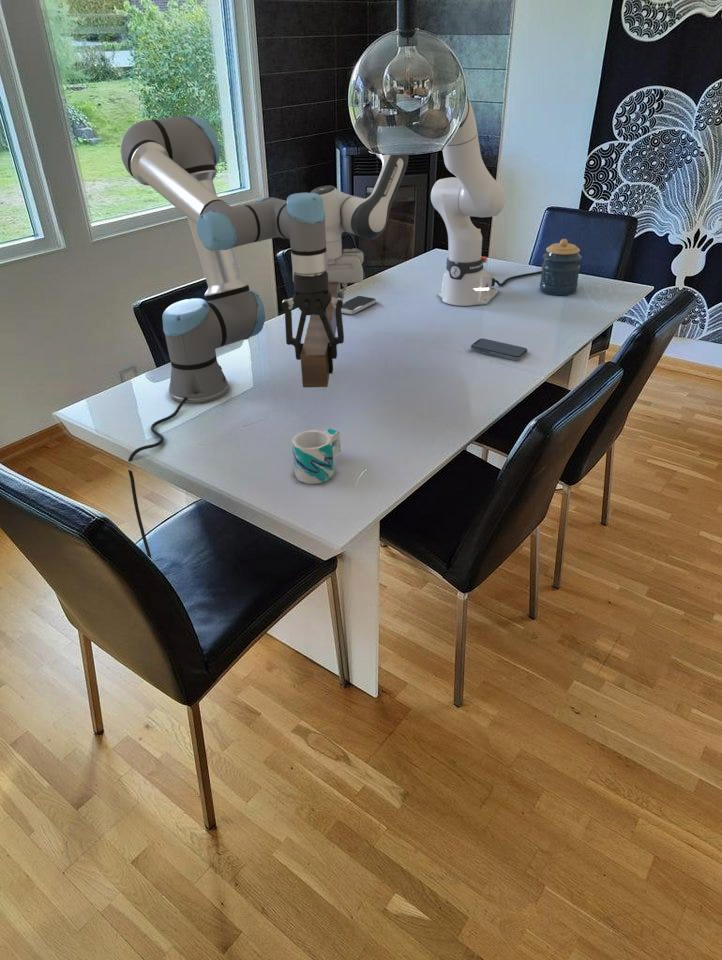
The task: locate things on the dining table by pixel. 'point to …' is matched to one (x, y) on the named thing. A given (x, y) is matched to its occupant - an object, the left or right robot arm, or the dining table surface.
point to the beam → (318, 346)
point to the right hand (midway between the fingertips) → (329, 298)
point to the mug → (315, 455)
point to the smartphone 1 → (357, 304)
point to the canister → (560, 269)
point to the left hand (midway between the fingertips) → (317, 371)
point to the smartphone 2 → (499, 349)
